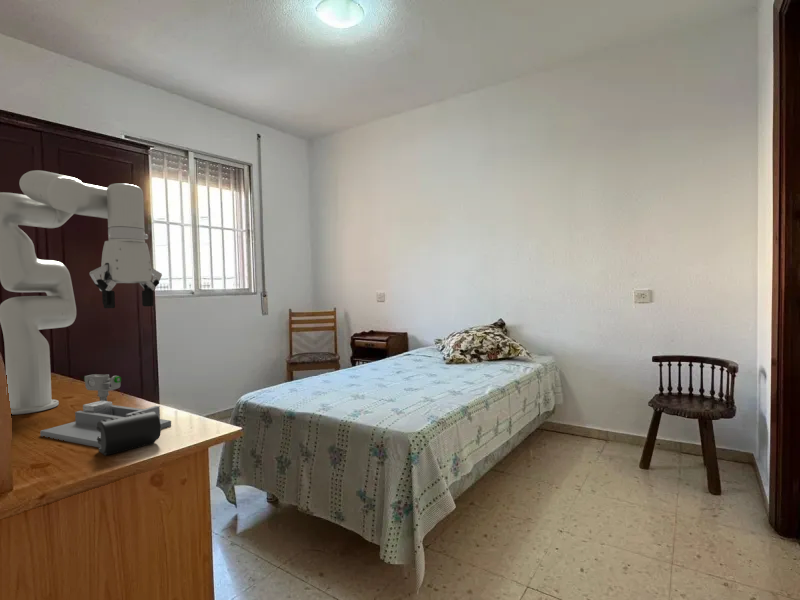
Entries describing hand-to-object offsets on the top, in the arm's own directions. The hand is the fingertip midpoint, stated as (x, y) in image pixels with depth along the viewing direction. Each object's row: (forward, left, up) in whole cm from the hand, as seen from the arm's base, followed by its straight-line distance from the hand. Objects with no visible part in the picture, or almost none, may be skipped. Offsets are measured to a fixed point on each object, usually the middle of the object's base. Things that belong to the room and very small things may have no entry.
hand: (129, 307), depth 107 cm
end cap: (+15, -12, -29) cm, 35 cm away
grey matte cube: (-7, -4, -27) cm, 28 cm away
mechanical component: (-18, +4, -29) cm, 34 cm away
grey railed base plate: (-1, -6, -29) cm, 29 cm away
